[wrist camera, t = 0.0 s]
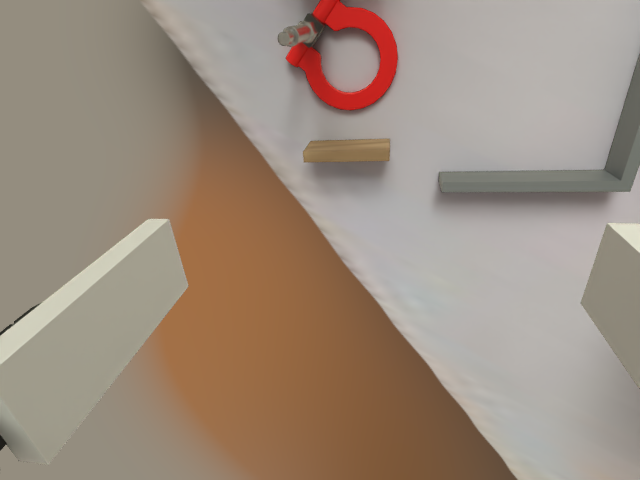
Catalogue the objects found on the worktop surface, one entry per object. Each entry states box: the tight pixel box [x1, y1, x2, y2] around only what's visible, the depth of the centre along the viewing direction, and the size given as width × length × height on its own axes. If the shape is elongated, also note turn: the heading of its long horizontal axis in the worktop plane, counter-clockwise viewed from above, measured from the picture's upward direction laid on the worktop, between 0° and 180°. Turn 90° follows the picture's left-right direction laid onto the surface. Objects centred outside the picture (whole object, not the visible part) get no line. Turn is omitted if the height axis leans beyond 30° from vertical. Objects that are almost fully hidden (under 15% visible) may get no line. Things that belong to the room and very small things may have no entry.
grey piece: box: [438, 54, 640, 192], centre depth 30 cm, size 24×16×3 cm, turn 4°
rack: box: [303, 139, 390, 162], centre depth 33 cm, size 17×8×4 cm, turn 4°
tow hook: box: [278, 0, 398, 110], centre depth 29 cm, size 8×13×9 cm
